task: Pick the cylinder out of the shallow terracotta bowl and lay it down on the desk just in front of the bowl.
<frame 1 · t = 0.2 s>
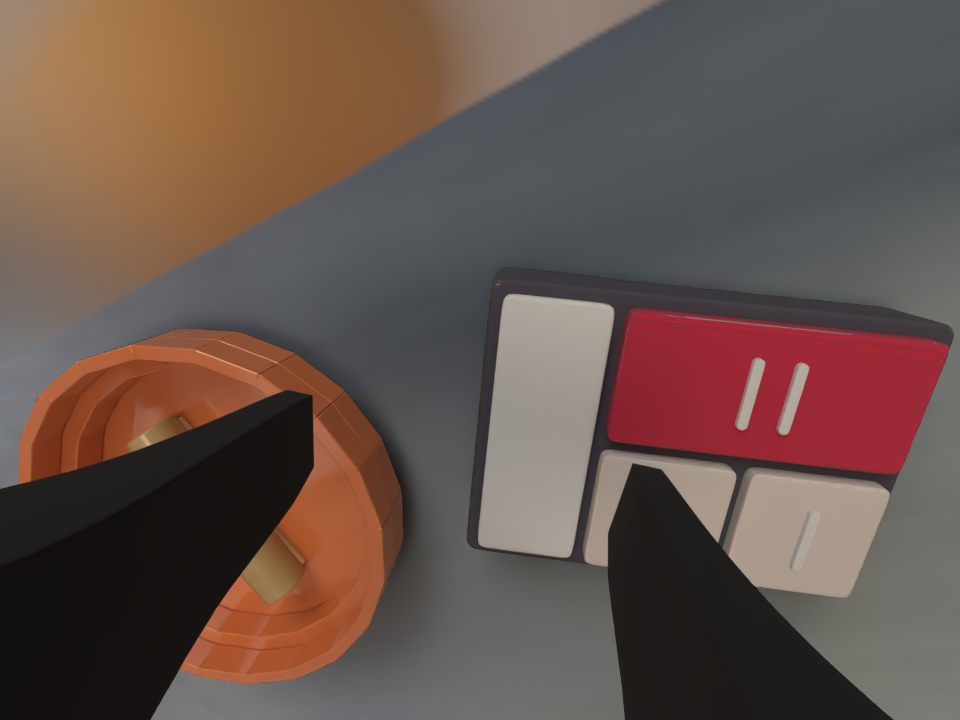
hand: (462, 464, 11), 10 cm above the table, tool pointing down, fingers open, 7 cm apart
cylinder: (235, 497, 23), point 1 cm above the table, touching bowl
bowl: (250, 484, 25), on the table
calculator: (659, 412, 21), on the table
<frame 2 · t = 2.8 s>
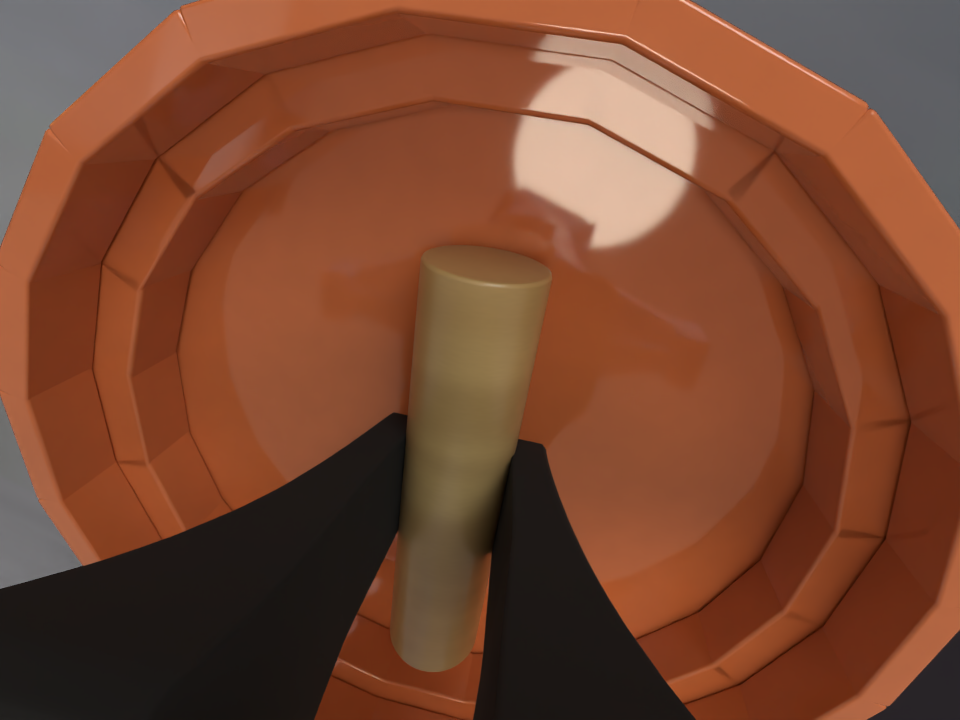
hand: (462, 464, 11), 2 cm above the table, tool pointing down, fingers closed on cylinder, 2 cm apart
cylinder: (464, 453, 11), point 1 cm above the table, touching bowl, gripper
bowl: (474, 425, 12), on the table
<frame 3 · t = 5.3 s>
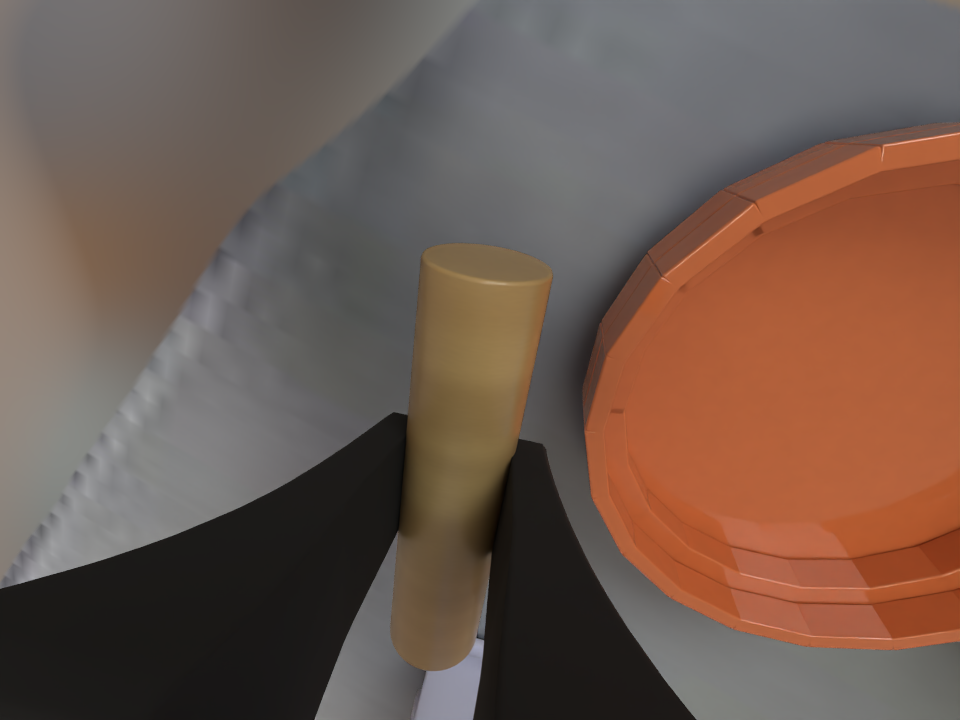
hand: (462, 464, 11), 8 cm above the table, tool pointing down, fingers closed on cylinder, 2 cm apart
cylinder: (465, 451, 11), point 8 cm above the table, touching gripper
bowl: (823, 387, 17), on the table
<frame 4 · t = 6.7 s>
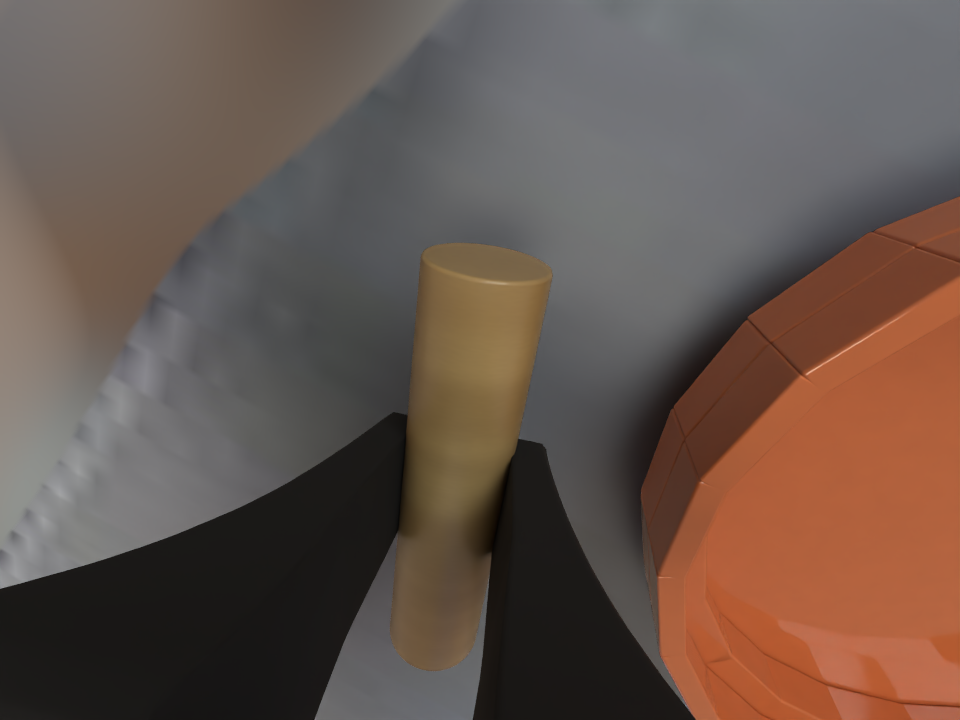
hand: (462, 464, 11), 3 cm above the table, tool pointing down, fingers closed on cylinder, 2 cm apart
cylinder: (465, 451, 11), point 3 cm above the table, touching gripper
when the fingers open (0 cm above the table, at t = 7.9 s): cylinder stays where it is, on the table.
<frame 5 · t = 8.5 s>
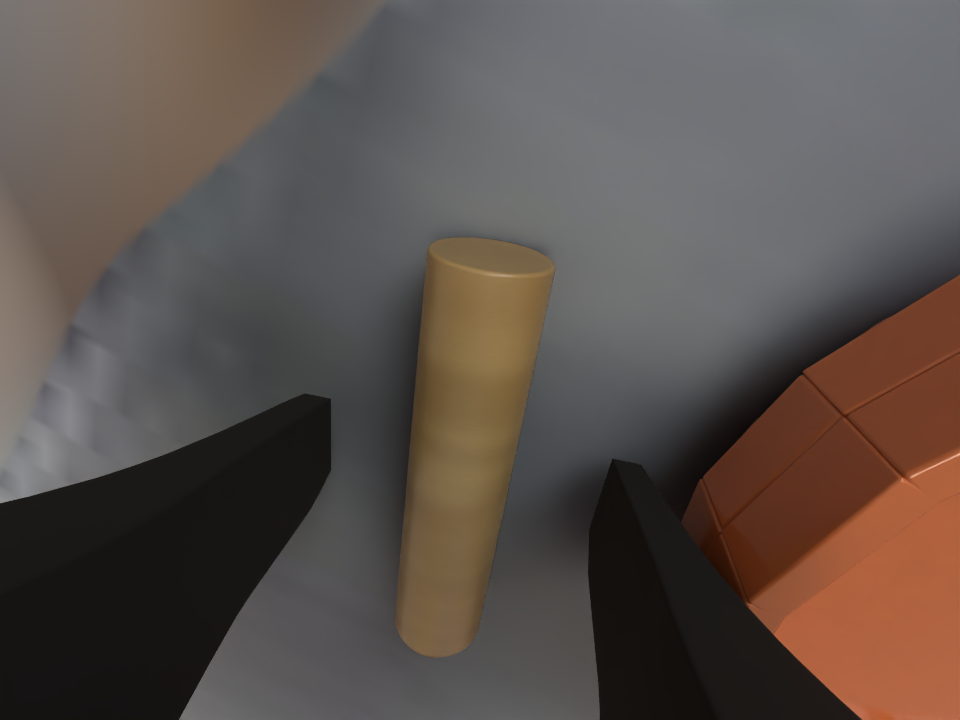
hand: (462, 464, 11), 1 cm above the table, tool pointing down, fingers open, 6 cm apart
cylinder: (468, 442, 11), on the table
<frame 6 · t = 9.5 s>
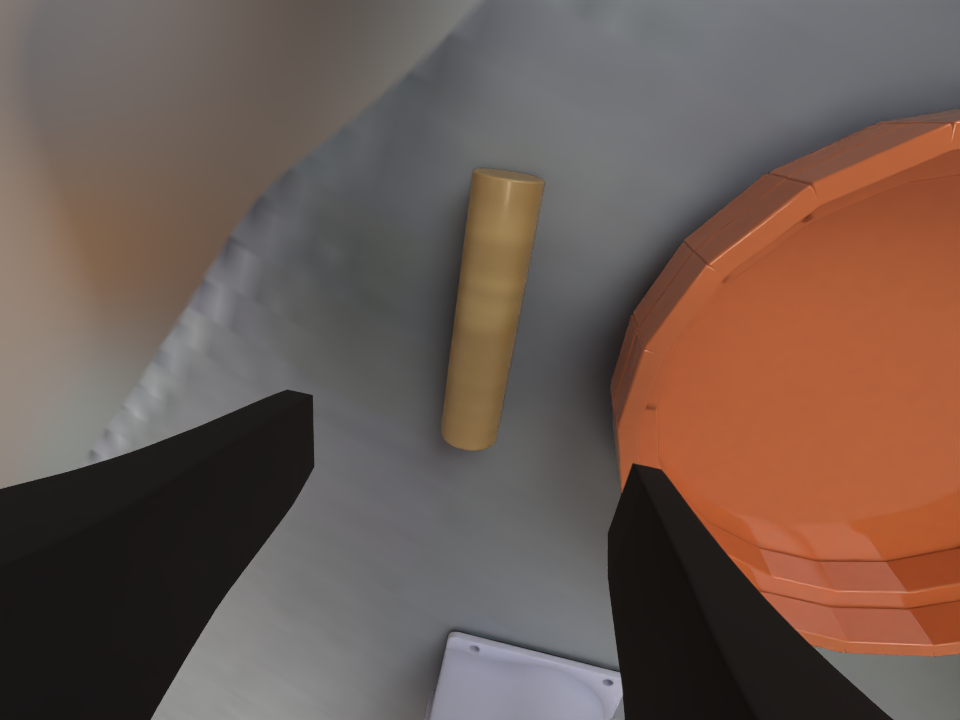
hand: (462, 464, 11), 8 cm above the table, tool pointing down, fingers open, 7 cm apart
cylinder: (490, 310, 18), on the table
bowl: (861, 383, 17), on the table
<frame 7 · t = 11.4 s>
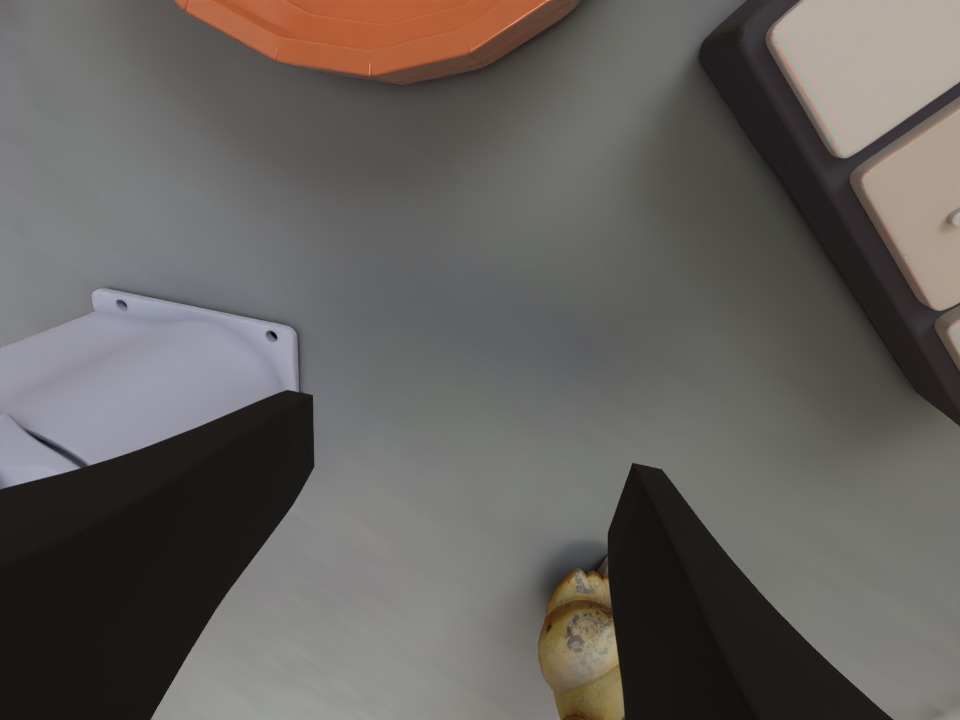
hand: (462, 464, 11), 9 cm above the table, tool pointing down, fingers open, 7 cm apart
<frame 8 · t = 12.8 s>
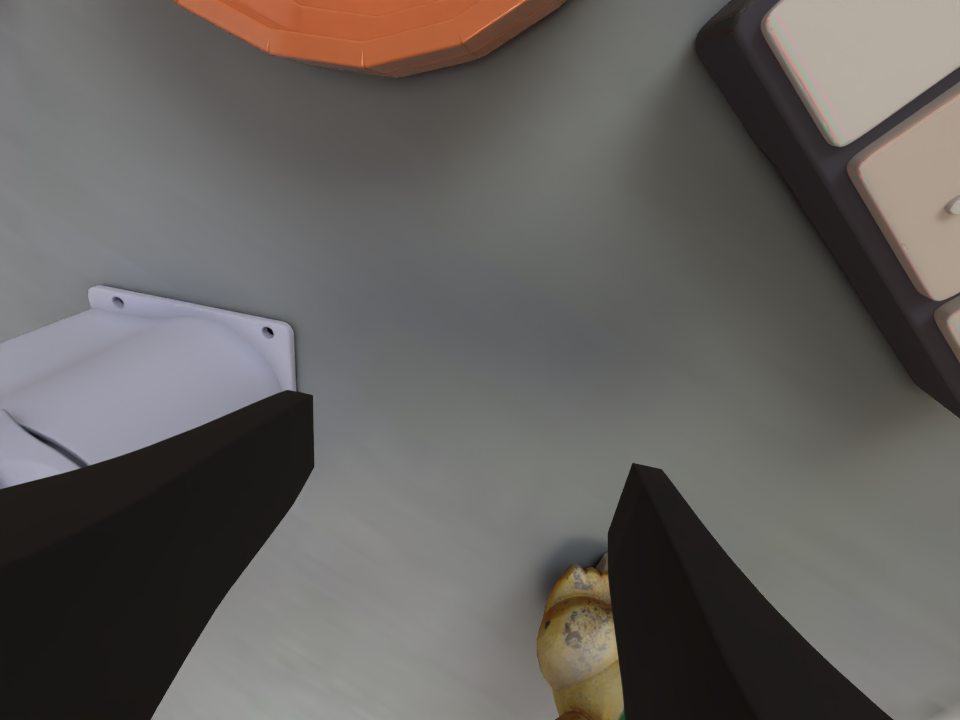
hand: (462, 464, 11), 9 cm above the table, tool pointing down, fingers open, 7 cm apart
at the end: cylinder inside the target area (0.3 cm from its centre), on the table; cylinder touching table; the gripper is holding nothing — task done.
